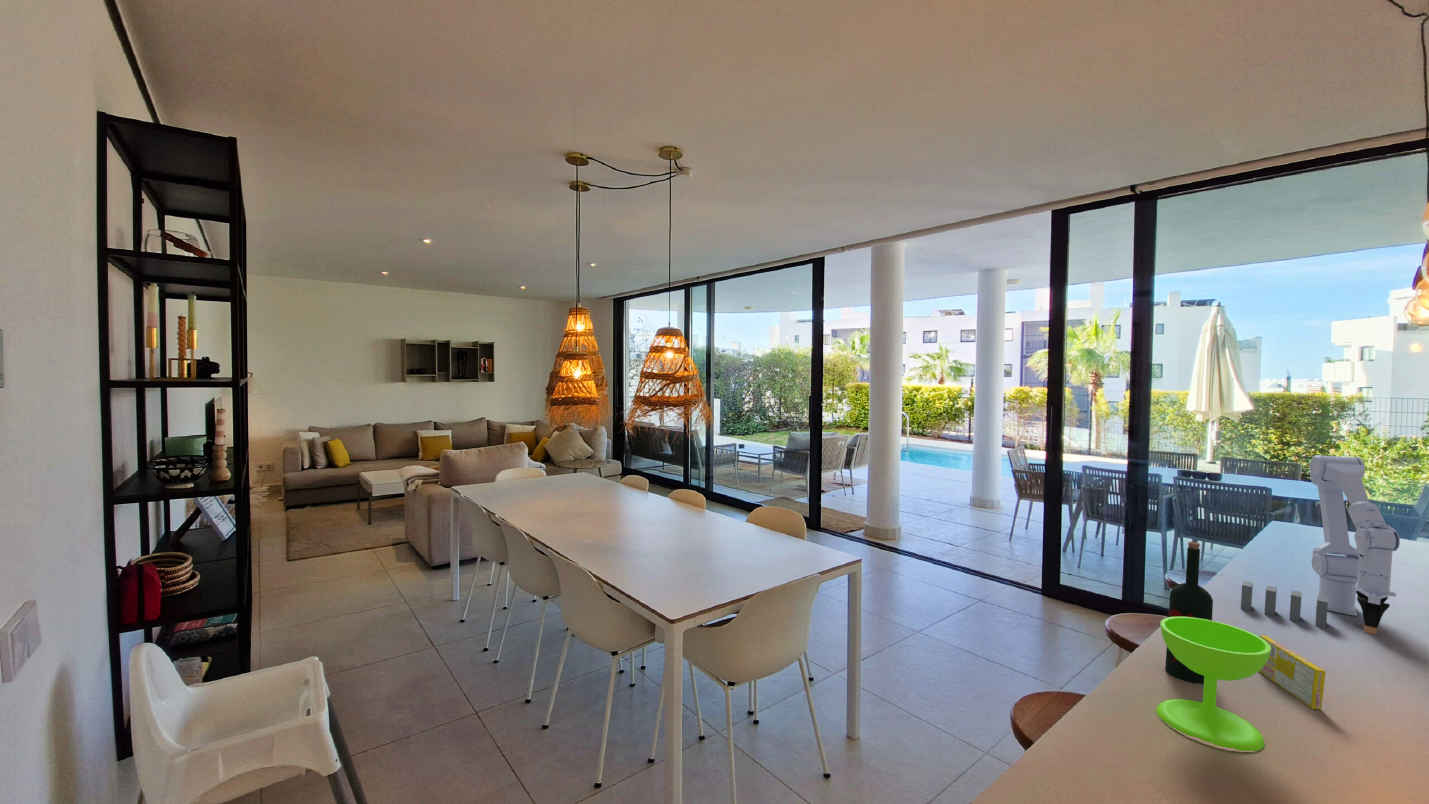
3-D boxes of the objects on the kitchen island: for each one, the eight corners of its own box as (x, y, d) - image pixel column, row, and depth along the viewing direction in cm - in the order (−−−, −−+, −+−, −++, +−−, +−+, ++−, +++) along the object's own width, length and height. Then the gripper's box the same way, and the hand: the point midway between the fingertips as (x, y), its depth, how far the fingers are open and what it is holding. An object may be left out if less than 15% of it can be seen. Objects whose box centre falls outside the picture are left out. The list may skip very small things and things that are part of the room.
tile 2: (1315, 620, 160) (1317, 595, 160) (1326, 622, 159) (1327, 597, 158) (1315, 625, 157) (1317, 600, 156) (1326, 627, 155) (1327, 602, 155)
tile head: (1363, 626, 156) (1365, 600, 156) (1375, 628, 155) (1376, 602, 155) (1364, 631, 153) (1366, 605, 153) (1376, 634, 152) (1378, 608, 151)
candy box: (1324, 710, 117) (1326, 670, 117) (1311, 709, 118) (1314, 669, 117) (1265, 670, 133) (1267, 634, 133) (1254, 669, 134) (1256, 633, 133)
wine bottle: (1155, 674, 130) (1161, 543, 129) (1172, 662, 136) (1178, 535, 134) (1199, 691, 124) (1206, 552, 122) (1215, 677, 130) (1222, 544, 128)
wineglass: (1290, 753, 104) (1297, 655, 103) (1199, 752, 104) (1205, 653, 103) (1214, 702, 120) (1219, 616, 119) (1136, 701, 120) (1140, 615, 119)
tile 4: (1265, 609, 167) (1267, 585, 167) (1275, 611, 166) (1276, 587, 166) (1264, 614, 164) (1265, 589, 164) (1274, 616, 163) (1275, 591, 162)
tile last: (1242, 603, 171) (1243, 580, 171) (1251, 606, 170) (1252, 582, 169) (1240, 608, 168) (1242, 584, 167) (1250, 610, 166) (1251, 586, 166)
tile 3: (1290, 614, 164) (1291, 590, 163) (1300, 616, 162) (1301, 592, 162) (1289, 619, 160) (1291, 594, 160) (1299, 621, 159) (1301, 596, 159)
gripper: (1400, 583, 145) (1396, 636, 146) (1394, 570, 155) (1391, 619, 156) (1358, 576, 150) (1354, 627, 151) (1355, 563, 160) (1352, 611, 161)
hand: (1370, 623), depth 154 cm, fingers closed on tile head, 5 cm apart
